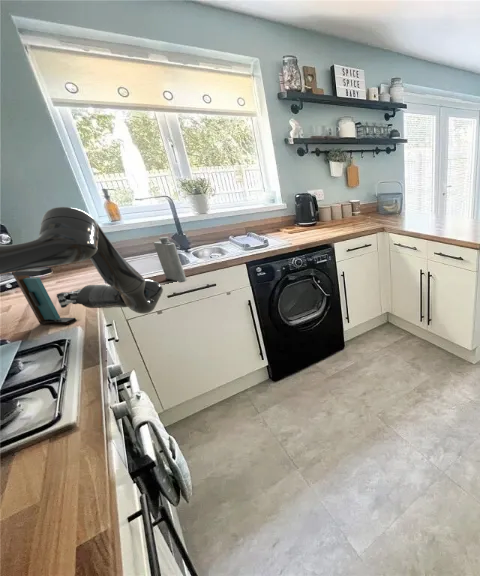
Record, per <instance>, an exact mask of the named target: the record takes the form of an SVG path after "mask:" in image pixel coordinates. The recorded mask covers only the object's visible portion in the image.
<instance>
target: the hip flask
mask: <svg viewBox="0 0 480 576" xmlns="http://www.w3.org/2000/svg"><path fill="white" fill-rule="evenodd" d="M169 239H170V238H169V236H162V237H158V240H159V241H155V242H153V246H154V249H155V252H156V255H157V257H158V260H159V263H160V266H161V268H162V272H163V274H164V276H165V279H166V280H172V281H176V282H178V283H185V282H187V281H188V280H187V277H186V273H185V270H184V268H183V265H182V262H181V258H180V255H179V252H178V249H177V247H176V244H175V243H174V242H172V241H170V240H169Z"/></svg>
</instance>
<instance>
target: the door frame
mask: <svg viewBox="0 0 480 576" xmlns="http://www.w3.org/2000/svg"><path fill="white" fill-rule="evenodd" d="M52 273H53V270H52V268H51V267H42V268H34V269H27V270H21V271H16V272H11V274H12V276H13V278H14V279H15V282H16V283H17V285H18V287H19V289H20V290H21V292H22V294H23V296H24V298H25V300H26V301H27V303H28V305H29V307H30V309H31V310H32V312H33V314H34V316H35V317H36V319H37V322H38V323H39V325H45V326H47V325H49V326H51V325H52V326H53V325H54V326H68V325H71V324H73V323H76V322H77V318H76V317H60V319H57V320H48V319H44V318H43V316H42V314H41V312H40V310H39V309H38V307H37V306H36V305H35V303H34V302H33V300H32V298H31V296H30V294H29V290H28V288H27V286H26V285H25V283H24V281H23V279H25V278H31V277H33V276H44V275H45V276H46V275H47V274H52ZM30 276H31V277H30Z"/></svg>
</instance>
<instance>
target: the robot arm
mask: <svg viewBox="0 0 480 576" xmlns="http://www.w3.org/2000/svg"><path fill="white" fill-rule="evenodd" d="M88 260H90V262H91V263H92V266H94V268H95V270H96V271H97V273H98V274H99V276H100V277H101V278H102V280H103V281H104V282H105V283H106V284H88V285H85V286H84V287H83V288H79V289H76V290H74V291H73V290H71V291H69V292H68V291H64V292H63V291H62V292H59V293H56V298H57V302H58V304H59V306H60V308H63V309H64V308H67V306H69V305H70V304H72V305H82V306H84V307H86V308H89V309H90V308H91V309H111V308H112V309H113V308H128V309H129V310H130V311H132V312H135V313H137V314H142V315H145V314H150V313H151V312H153V311H154V310H155V308H156V306H157V304H158V303H159V300H160V299H161V297H162V294H163V292H164V288H163V286H162V284H161V283H159V282H158V281H157V280H153V279H145V277H143V275H142V274H141V273H140V272H138V271H137V270H136V269H135V268H134V267H133V266H132V265H131V264H130V263H129V262H128V261H127V260H126V259H125V258H124V257H123V256H122V255H121V253H120V252H119V251H118V249H116V247H115V246H114V245H113V243H112V242H111V240H110V239H109V238H108V237H107V235H106V234H105V232H104V231H103V229H102V228H101V226H100V225H99V223H98V222H97V221H96V220H95V218H94V217H92V216H91V214H89V213H87V212H86V211H83V210H81V209H78V208H75V207H69V206H57V207H56V206H55V207H52V208H50V209H48V210H46V212H45V213H43V215H42V217H41V222H40V226H39V234H38V237H37V238H35V239H33V240H29V241H26V242H25V241H24V242H20V243H13V244H1V243H0V275H5V274H12V272H16V271H21V270H27V269H34V268H50V267H56V266H57V267H58V266H64V265H71V264H77V263H81V262H82V263H83V262H85V261H88Z"/></svg>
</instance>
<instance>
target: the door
mask: <svg viewBox="0 0 480 576" xmlns="http://www.w3.org/2000/svg"><path fill="white" fill-rule="evenodd" d="M23 281H24V283H25V285H26V286H27V288H28V290H29V294H30V296H31V298H32V300H33V302H34V303H35V305H36V306H37V307H38V309H39V310H40V312H41V314H42V316H43V318H44V319H48V320H57V319H60V318H61V316H60V314H59V312H58V310H57V308H56V306H55V305H54V303H53V301H52V299H51V297H50V294H49V293H48V291H47V289H46V287H45V285H44V283H43V281H42V279H41V278H40V277H30V278H25V279H23Z"/></svg>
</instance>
